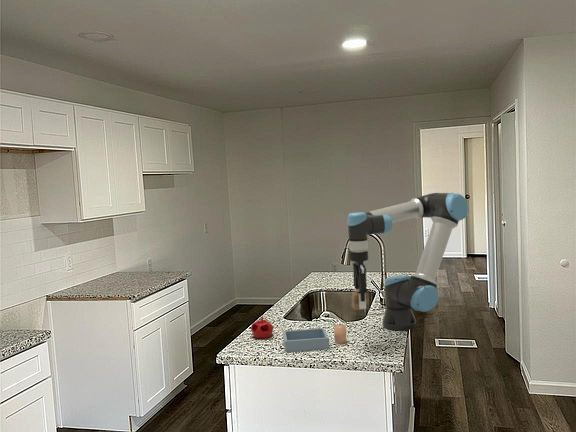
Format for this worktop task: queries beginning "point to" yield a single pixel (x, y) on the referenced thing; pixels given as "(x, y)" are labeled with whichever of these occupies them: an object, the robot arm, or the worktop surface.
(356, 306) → the walnut cube
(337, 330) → the terracotta cylinder
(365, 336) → the worktop surface
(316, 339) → the tote
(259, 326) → the pomegranate
